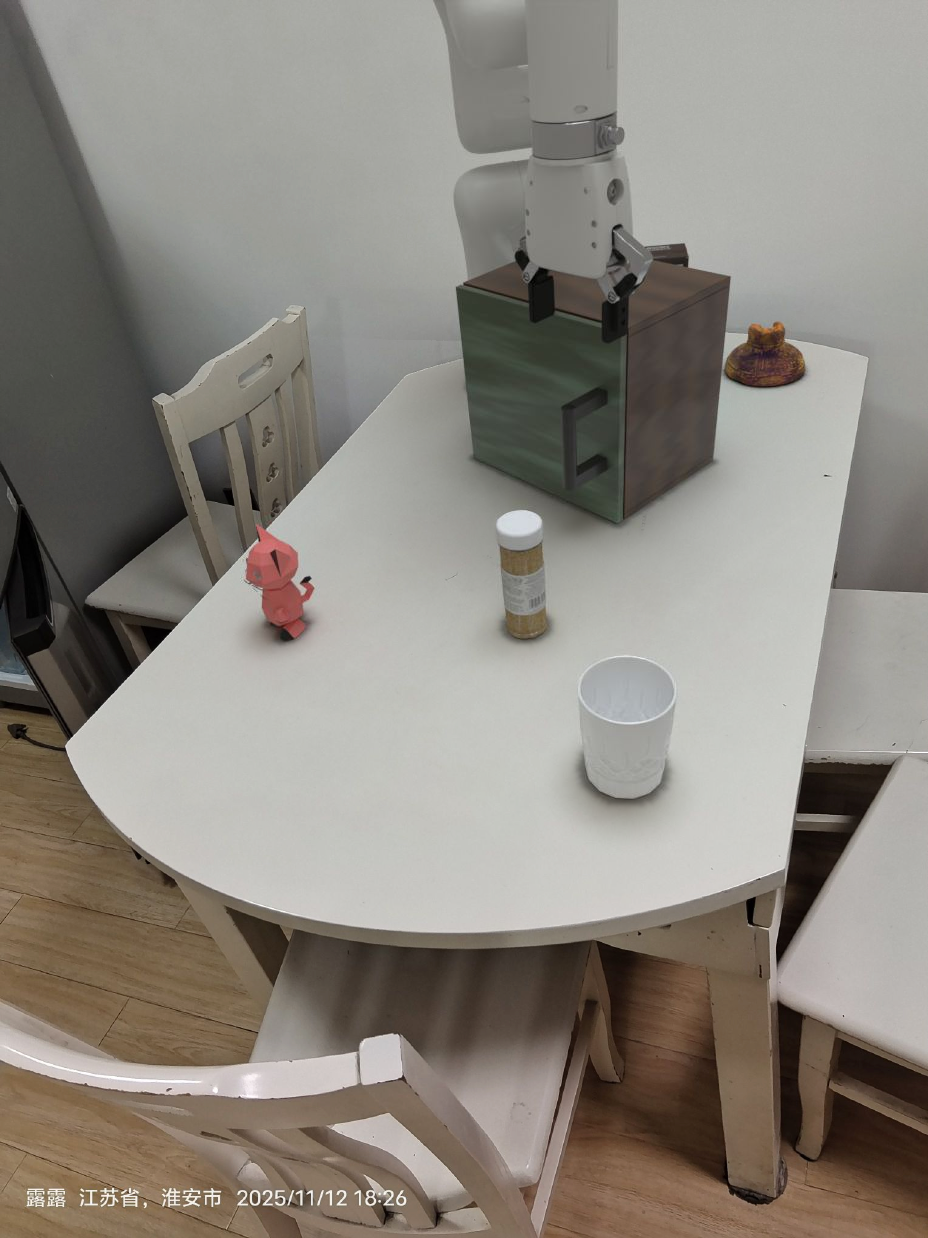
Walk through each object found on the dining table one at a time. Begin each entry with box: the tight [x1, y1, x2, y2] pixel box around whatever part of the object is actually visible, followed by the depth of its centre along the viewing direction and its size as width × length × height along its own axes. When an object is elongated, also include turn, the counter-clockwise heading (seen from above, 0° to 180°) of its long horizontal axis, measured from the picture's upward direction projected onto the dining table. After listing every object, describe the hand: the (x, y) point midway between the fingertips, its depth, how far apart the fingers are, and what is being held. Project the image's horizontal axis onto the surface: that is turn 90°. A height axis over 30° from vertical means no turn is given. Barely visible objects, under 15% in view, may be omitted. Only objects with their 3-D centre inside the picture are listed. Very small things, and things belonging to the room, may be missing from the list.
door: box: [455, 284, 627, 524], centre depth 103 cm, size 7×26×24 cm, turn 42°
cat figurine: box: [242, 523, 315, 642], centre depth 91 cm, size 7×7×12 cm
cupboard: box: [462, 260, 732, 521], centre depth 109 cm, size 18×26×24 cm
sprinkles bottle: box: [495, 509, 549, 639], centre depth 87 cm, size 5×5×14 cm
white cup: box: [576, 654, 678, 800], centre depth 72 cm, size 8×8×10 cm
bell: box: [724, 321, 806, 387], centre depth 129 cm, size 12×12×7 cm
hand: (577, 328), depth 86 cm, fingers open, 9 cm apart
